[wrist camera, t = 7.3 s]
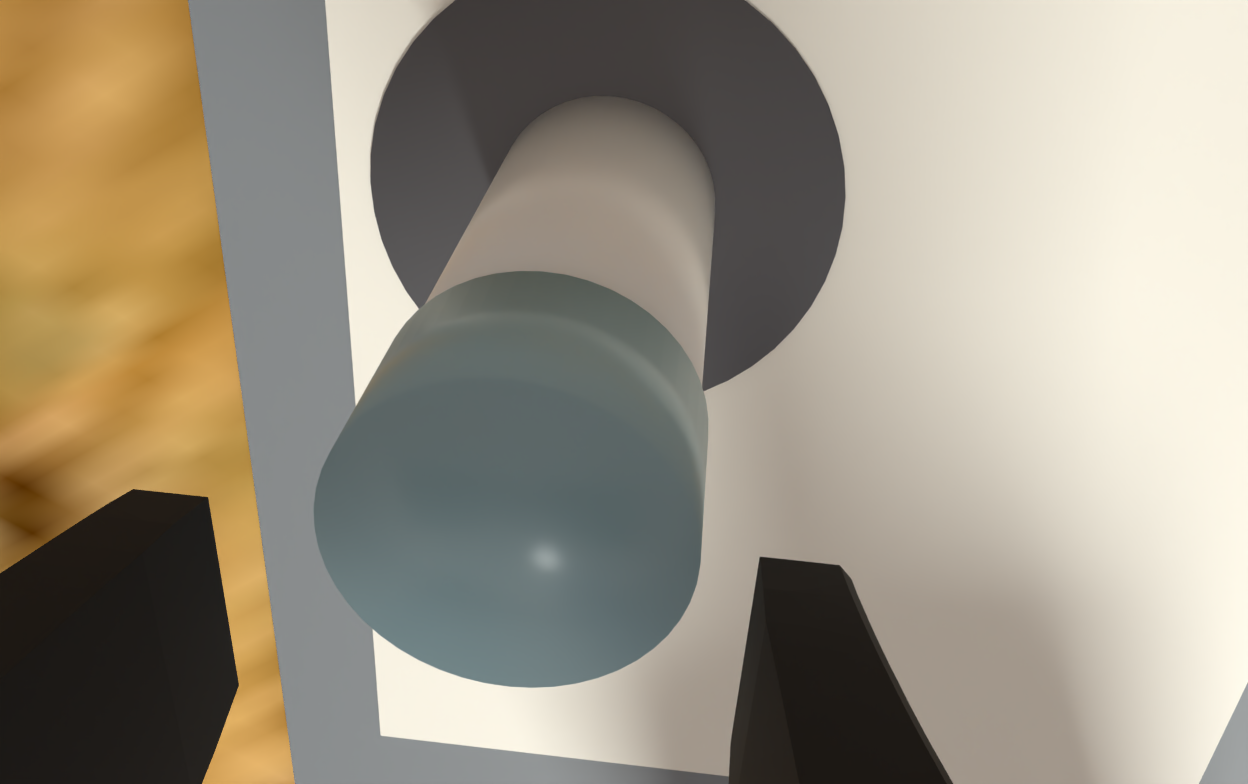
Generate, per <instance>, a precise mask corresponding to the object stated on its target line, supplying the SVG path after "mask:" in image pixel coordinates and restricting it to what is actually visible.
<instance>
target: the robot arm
mask: <svg viewBox="0 0 1248 784" xmlns="http://www.w3.org/2000/svg"><path fill="white" fill-rule="evenodd" d="M238 686H239V683H238V677H237V671H236V665H235V659H234V653H233V647H232V641H231V635H230V628H229V622H228V616H227V610H226V604H225V598H224V592H223V586H222V580H221V574H220V568H219V561H218V555H217V549H216V543H215V537H214V531H213V525H212V519H211V513H210V507H209V501H208V497H201V496H191V495H182V494H173V493H163V492H154V491H145V490H135V489H133V490H131V491H129V492H127V493H126V494H124V495H122V496H121V497H119V498H117V499H116V500H114V501H112V502H110V503H109V504H107V505H105V506H104V507H102V508H101V509H99V510H97V511H96V512H94V513H93V514H91V515H89V516H88V517H86V518H85V519H83V520H82V521H80V522H78V523H77V524H75V525H74V526H72V527H71V528H69V529H68V530H66V531H64V532H63V533H61V534H60V535H58V536H57V537H55V538H54V539H52V540H51V541H49V542H48V543H46V544H44V545H43V546H41V547H40V548H38V549H37V550H35V551H34V552H32V553H31V554H29V555H28V556H26V557H25V558H23V559H22V560H20V561H19V562H17V563H15V564H14V565H12V566H11V567H9V568H8V569H6V570H5V571H3V572H2V573H0V784H202V782H203V779H204V777H205V774H206V772H207V769H208V767H209V764H210V762H211V759H212V757H213V754H214V752H215V749H216V746H217V744H218V741H219V738H220V735H221V733H222V730H223V727H224V724H225V722H226V719H227V716H228V713H229V711H230V708H231V705H232V702H233V700H234V697H235V694H236V691H237V689H238ZM729 784H953V782H952V780H951V779H950V777H949V775H948V773H947V772H946V770H945V768H944V766H943V765H942V763H941V761H940V759H939V758H938V756H937V754H936V752H935V751H934V749H933V747H932V745H931V743H930V742H929V740H928V738H927V736H926V734H925V732H924V731H923V729H922V727H921V725H920V723H919V721H918V719H917V717H916V716H915V714H914V712H913V710H912V708H911V706H910V704H909V702H908V700H907V698H906V696H905V694H904V692H903V690H902V688H901V686H900V684H899V682H898V680H897V678H896V676H895V674H894V672H893V670H892V668H891V667H890V665H889V663H888V660H887V658H886V656H885V654H884V652H883V650H882V648H881V646H880V644H879V642H878V639H877V637H876V635H875V633H874V631H873V629H872V626H871V624H870V622H869V620H868V617H867V615H866V613H865V610H864V608H863V606H862V604H861V601H860V599H859V597H858V594H857V592H856V589H855V587H854V584H853V582H852V579H851V578H850V577H849V575H848V574H847V573H846V572H845V571H844V569H843V568H842V567H841V566H840V565H834V564H825V563H816V562H806V561H797V560H788V559H779V558H769V557H760V558H759V564H758V570H757V577H756V583H755V589H754V596H753V602H752V609H751V615H750V621H749V628H748V634H747V640H746V647H745V653H744V659H743V666H742V672H741V679H740V685H739V691H738V698H737V704H736V710H735V717H734V723H733V729H732V736H731V743H730V763H729Z"/></svg>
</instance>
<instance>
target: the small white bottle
mask: <svg viewBox="0 0 1248 784" xmlns="http://www.w3.org/2000/svg"><path fill="white" fill-rule="evenodd" d="M714 220H715V191H714V184H713V180H712V176H711V173H710V170H709V167H708V165H707V162H706V160H705V158H704V156H703V154H702V153H701V151H700V149H699V148H698V146H697V145H696V143H695V142H694V141H693V139H692V138H691V137H690V136H689V134H688V133H687V132H686V131H685V130H684V129H683V128H682V127H681V126H680V125H679V124H677V123H676V122H675V121H673V120H672V119H671V118H669V117H668V116H667V115H665V114H664V113H662V112H660V111H658V110H657V109H655V108H653V107H651V106H648V105H646V104H643V103H641V102H638V101H634V100H630V99H627V98H621V97H614V96H591V97H584V98H578V99H575V100H571V101H567V102H564V103H562V104H560V105H557V106H555V107H553V108H551V109H549V110H548V111H546V112H544V113H543V114H541V115H540V116H538V117H537V118H536V119H535V120H533V121H532V122H531V123H530V124H529V125H528V126H527V127H526V128H525V129H524V130H523V131H522V132H521V133H520V135H519V136H518V138H517V139H516V140H515V142H514V143H513V145H512V147H511V148H510V150H509V152H508V154H507V156H506V157H505V159H504V161H503V163H502V165H501V167H500V168H499V170H498V172H497V174H496V176H495V177H494V179H493V181H492V183H491V185H490V187H489V188H488V190H487V192H486V194H485V196H484V198H483V199H482V201H481V203H480V205H479V207H478V208H477V210H476V212H475V214H474V216H473V218H472V219H471V221H470V223H469V225H468V227H467V228H466V230H465V232H464V234H463V236H462V238H461V239H460V241H459V243H458V245H457V247H456V248H455V250H454V252H453V254H452V256H451V258H450V259H449V261H448V263H447V265H446V267H445V269H444V270H443V272H442V274H441V276H440V278H439V279H438V281H437V283H436V285H435V287H434V289H433V290H432V292H431V294H430V296H429V298H428V299H427V301H426V303H425V305H423V306H422V307H421V308H419V309H418V310H417V311H416V312H415V313H414V315H413V316H412V317H411V318H410V319H409V320H408V321H407V322H406V323H405V324H404V326H403V327H402V328H401V330H400V331H399V333H398V334H397V335H396V337H395V338H394V340H393V342H392V343H391V345H390V347H389V349H388V351H387V352H386V354H385V356H384V358H383V359H382V361H381V363H380V365H379V366H378V368H377V370H376V372H375V373H374V375H373V377H372V379H371V380H370V382H369V384H368V386H367V387H366V389H365V391H364V393H363V395H362V396H361V398H360V400H359V402H358V403H357V405H356V407H355V409H354V410H353V412H352V414H351V416H350V417H349V419H348V421H347V423H346V424H345V426H344V428H343V430H342V432H341V433H340V435H339V437H338V439H337V440H336V442H335V444H334V446H333V447H332V449H331V451H330V453H329V455H328V457H327V459H326V461H325V463H324V465H323V467H322V469H321V473H320V476H319V479H318V483H317V486H316V491H315V500H314V508H313V509H314V529H315V533H316V538H317V543H318V548H319V551H320V553H321V556H322V559H323V562H324V564H325V567H326V569H327V571H328V573H329V575H330V577H331V578H332V580H333V582H334V584H335V586H336V587H337V589H338V590H339V592H340V593H341V594H342V596H343V597H344V599H345V600H346V602H347V603H348V604H349V605H350V606H351V608H352V609H353V610H354V611H355V612H356V613H357V614H358V615H359V616H360V618H361V619H362V620H363V621H364V622H365V623H367V624H368V625H369V626H370V627H371V628H372V629H373V630H374V631H376V632H377V633H378V634H379V635H380V636H382V637H383V638H384V639H386V640H387V641H389V642H390V643H391V644H393V645H394V646H396V647H397V648H398V649H400V650H402V651H404V652H405V653H407V654H409V655H410V656H412V657H414V658H416V659H417V660H419V661H422V662H424V663H426V664H428V665H430V666H433V667H435V668H437V669H439V670H442V671H445V672H448V673H450V674H453V675H456V676H459V677H462V678H466V679H470V680H474V681H478V682H482V683H487V684H494V685H501V686H508V687H525V688H538V687H556V686H563V685H570V684H577V683H581V682H585V681H588V680H592V679H596V678H599V677H602V676H605V675H607V674H610V673H613V672H615V671H618V670H620V669H622V668H624V667H626V666H627V665H629V664H631V663H633V662H635V661H637V660H638V659H640V658H641V657H643V656H644V655H645V654H647V653H648V652H650V651H651V650H653V649H654V648H655V647H656V646H657V645H658V644H659V643H660V642H661V641H662V640H664V639H665V638H666V637H667V636H668V635H669V633H670V632H671V631H672V630H673V628H674V627H675V626H676V625H677V623H678V622H679V621H680V620H681V618H682V616H683V614H684V613H685V611H686V609H687V607H688V605H689V604H690V602H691V599H692V596H693V593H694V591H695V588H696V585H697V581H698V575H699V570H700V564H701V548H702V531H703V515H704V499H705V482H706V466H707V449H708V421H709V418H708V411H707V404H706V398H705V395H704V392H703V388H702V381H703V368H704V354H705V341H706V327H707V314H708V301H709V287H710V274H711V260H712V247H713V234H714Z"/></svg>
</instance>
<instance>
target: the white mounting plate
mask: <svg viewBox="0 0 1248 784" xmlns="http://www.w3.org/2000/svg"><path fill="white" fill-rule="evenodd" d="M188 3H189V10H190V18H191V25H192V32H193V40H194V47H195V54H196V62H197V69H198V76H199V84H200V91H201V98H202V105H203V113H204V120H205V127H206V135H207V142H208V149H209V157H210V164H211V171H212V179H213V186H214V193H215V201H216V208H217V215H218V223H219V230H220V237H221V245H222V252H223V259H224V267H225V274H226V281H227V289H228V296H229V303H230V311H231V318H232V325H233V332H234V340H235V347H236V354H237V362H238V369H239V376H240V384H241V391H242V398H243V406H244V413H245V420H246V428H247V435H248V442H249V450H250V457H251V464H252V472H253V479H254V486H255V494H256V501H257V508H258V516H259V523H260V530H261V538H262V545H263V552H264V559H265V567H266V574H267V581H268V589H269V596H270V603H271V611H272V618H273V625H274V633H275V640H276V647H277V655H278V662H279V669H280V677H281V684H282V691H283V699H284V706H285V713H286V721H287V728H288V735H289V743H290V750H291V757H292V765H293V772H294V779H295V784H729V763H730V743H731V736H732V729H733V723H734V717H735V710H736V704H737V698H738V691H739V685H740V679H741V672H742V666H743V659H744V653H745V647H746V640H747V634H748V628H749V621H750V615H751V609H752V602H753V596H754V589H755V583H756V577H757V570H758V564H759V558H760V557H769V558H779V559H788V560H797V561H806V562H816V563H825V564H834V565H840V566H841V567H842V568H843V569H844V571H845V572H846V573H847V574H848V575H849V577H850V578H851V579H852V582H853V584H854V587H855V589H856V592H857V594H858V597H859V599H860V601H861V604H862V606H863V608H864V610H865V613H866V615H867V617H868V620H869V622H870V624H871V626H872V629H873V631H874V633H875V635H876V637H877V639H878V642H879V644H880V646H881V648H882V650H883V652H884V654H885V656H886V658H887V660H888V663H889V665H890V667H891V668H892V670H893V672H894V674H895V676H896V678H897V680H898V682H899V684H900V686H901V688H902V690H903V692H904V694H905V696H906V698H907V700H908V702H909V704H910V706H911V708H912V710H913V712H914V714H915V716H916V717H917V719H918V721H919V723H920V725H921V727H922V729H923V731H924V732H925V734H926V736H927V738H928V740H929V742H930V743H931V745H932V747H933V749H934V751H935V752H936V754H937V756H938V758H939V759H940V761H941V763H942V765H943V766H944V768H945V770H946V772H947V773H948V775H949V777H950V779H951V780H952V782H953V784H1248V0H188ZM591 96H614V97H621V98H627V99H630V100H634V101H638V102H641V103H643V104H646V105H648V106H651V107H653V108H655V109H657V110H658V111H660V112H662V113H664V114H665V115H667V116H668V117H669V118H671V119H672V120H673V121H675V122H676V123H677V124H679V125H680V126H681V127H682V128H683V129H684V130H685V131H686V132H687V133H688V134H689V136H690V137H691V138H692V139H693V141H694V142H695V143H696V145H697V146H698V148H699V149H700V151H701V153H702V154H703V156H704V158H705V160H706V162H707V165H708V167H709V170H710V173H711V176H712V180H713V184H714V191H715V220H714V234H713V247H712V260H711V274H710V287H709V301H708V314H707V327H706V341H705V354H704V368H703V381H702V388H703V392H704V395H705V398H706V404H707V411H708V418H709V421H708V449H707V466H706V482H705V499H704V515H703V531H702V548H701V564H700V570H699V575H698V581H697V585H696V588H695V591H694V593H693V596H692V599H691V602H690V604H689V605H688V607H687V609H686V611H685V613H684V614H683V616H682V618H681V620H680V621H679V622H678V623H677V625H676V626H675V627H674V628H673V630H672V631H671V632H670V633H669V635H668V636H667V637H666V638H665V639H664V640H662V641H661V642H660V643H659V644H658V645H657V646H656V647H655V648H654V649H653V650H651V651H650V652H648V653H647V654H645V655H644V656H643V657H641V658H640V659H638V660H637V661H635V662H633V663H631V664H629V665H627V666H626V667H624V668H622V669H620V670H618V671H615V672H613V673H610V674H607V675H605V676H602V677H599V678H596V679H592V680H588V681H585V682H581V683H577V684H570V685H563V686H556V687H538V688H525V687H508V686H501V685H494V684H487V683H482V682H478V681H474V680H470V679H466V678H462V677H459V676H456V675H453V674H450V673H448V672H445V671H442V670H439V669H437V668H435V667H433V666H430V665H428V664H426V663H424V662H422V661H419V660H417V659H416V658H414V657H412V656H410V655H409V654H407V653H405V652H404V651H402V650H400V649H398V648H397V647H396V646H394V645H393V644H391V643H390V642H389V641H387V640H386V639H384V638H383V637H382V636H380V635H379V634H378V633H377V632H376V631H374V630H373V629H372V628H371V627H370V626H369V625H368V624H367V623H365V622H364V621H363V620H362V619H361V618H360V616H359V615H358V614H357V613H356V612H355V611H354V610H353V609H352V608H351V606H350V605H349V604H348V603H347V602H346V600H345V599H344V597H343V596H342V594H341V593H340V592H339V590H338V589H337V587H336V586H335V584H334V582H333V580H332V578H331V577H330V575H329V573H328V571H327V569H326V567H325V564H324V562H323V559H322V556H321V553H320V551H319V548H318V543H317V538H316V533H315V529H314V509H313V508H314V500H315V491H316V486H317V483H318V479H319V476H320V473H321V469H322V467H323V465H324V463H325V461H326V459H327V457H328V455H329V453H330V451H331V449H332V447H333V446H334V444H335V442H336V440H337V439H338V437H339V435H340V433H341V432H342V430H343V428H344V426H345V424H346V423H347V421H348V419H349V417H350V416H351V414H352V412H353V410H354V409H355V407H356V405H357V403H358V402H359V400H360V398H361V396H362V395H363V393H364V391H365V389H366V387H367V386H368V384H369V382H370V380H371V379H372V377H373V375H374V373H375V372H376V370H377V368H378V366H379V365H380V363H381V361H382V359H383V358H384V356H385V354H386V352H387V351H388V349H389V347H390V345H391V343H392V342H393V340H394V338H395V337H396V335H397V334H398V333H399V331H400V330H401V328H402V327H403V326H404V324H405V323H406V322H407V321H408V320H409V319H410V318H411V317H412V316H413V315H414V313H415V312H416V311H417V310H418V309H419V308H421V307H422V306H423V305H425V303H426V301H427V299H428V298H429V296H430V294H431V292H432V290H433V289H434V287H435V285H436V283H437V281H438V279H439V278H440V276H441V274H442V272H443V270H444V269H445V267H446V265H447V263H448V261H449V259H450V258H451V256H452V254H453V252H454V250H455V248H456V247H457V245H458V243H459V241H460V239H461V238H462V236H463V234H464V232H465V230H466V228H467V227H468V225H469V223H470V221H471V219H472V218H473V216H474V214H475V212H476V210H477V208H478V207H479V205H480V203H481V201H482V199H483V198H484V196H485V194H486V192H487V190H488V188H489V187H490V185H491V183H492V181H493V179H494V177H495V176H496V174H497V172H498V170H499V168H500V167H501V165H502V163H503V161H504V159H505V157H506V156H507V154H508V152H509V150H510V148H511V147H512V145H513V143H514V142H515V140H516V139H517V138H518V136H519V135H520V133H521V132H522V131H523V130H524V129H525V128H526V127H527V126H528V125H529V124H530V123H531V122H532V121H533V120H535V119H536V118H537V117H538V116H540V115H541V114H543V113H544V112H546V111H548V110H549V109H551V108H553V107H555V106H557V105H560V104H562V103H564V102H567V101H571V100H575V99H578V98H584V97H591Z"/></svg>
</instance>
